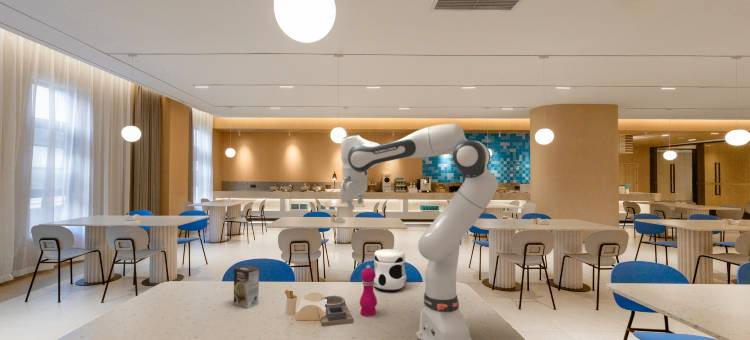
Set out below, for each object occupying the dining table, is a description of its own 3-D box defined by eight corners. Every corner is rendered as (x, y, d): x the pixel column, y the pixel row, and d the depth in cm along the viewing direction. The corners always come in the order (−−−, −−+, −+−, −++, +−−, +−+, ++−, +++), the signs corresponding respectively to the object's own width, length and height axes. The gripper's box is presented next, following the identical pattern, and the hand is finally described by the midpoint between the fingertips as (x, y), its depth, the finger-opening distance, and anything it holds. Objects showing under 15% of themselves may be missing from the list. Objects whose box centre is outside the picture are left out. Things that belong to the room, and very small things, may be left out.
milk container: (368, 283, 176) (368, 249, 176) (399, 280, 181) (399, 247, 181) (378, 295, 159) (378, 257, 160) (411, 291, 164) (412, 255, 165)
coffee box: (232, 304, 147) (233, 268, 147) (244, 300, 153) (245, 264, 153) (247, 308, 143) (247, 271, 143) (259, 303, 148) (259, 267, 149)
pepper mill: (375, 317, 135) (375, 267, 135) (357, 316, 136) (357, 266, 136) (378, 310, 142) (378, 263, 142) (361, 308, 143) (362, 262, 143)
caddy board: (352, 322, 130) (352, 312, 130) (321, 326, 127) (322, 315, 127) (343, 303, 149) (343, 294, 149) (316, 306, 146) (316, 296, 146)
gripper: (350, 179, 127) (353, 214, 130) (369, 169, 146) (371, 200, 149) (335, 179, 130) (338, 213, 132) (355, 170, 149) (358, 200, 151)
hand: (356, 206), depth 140 cm, fingers open, 8 cm apart
